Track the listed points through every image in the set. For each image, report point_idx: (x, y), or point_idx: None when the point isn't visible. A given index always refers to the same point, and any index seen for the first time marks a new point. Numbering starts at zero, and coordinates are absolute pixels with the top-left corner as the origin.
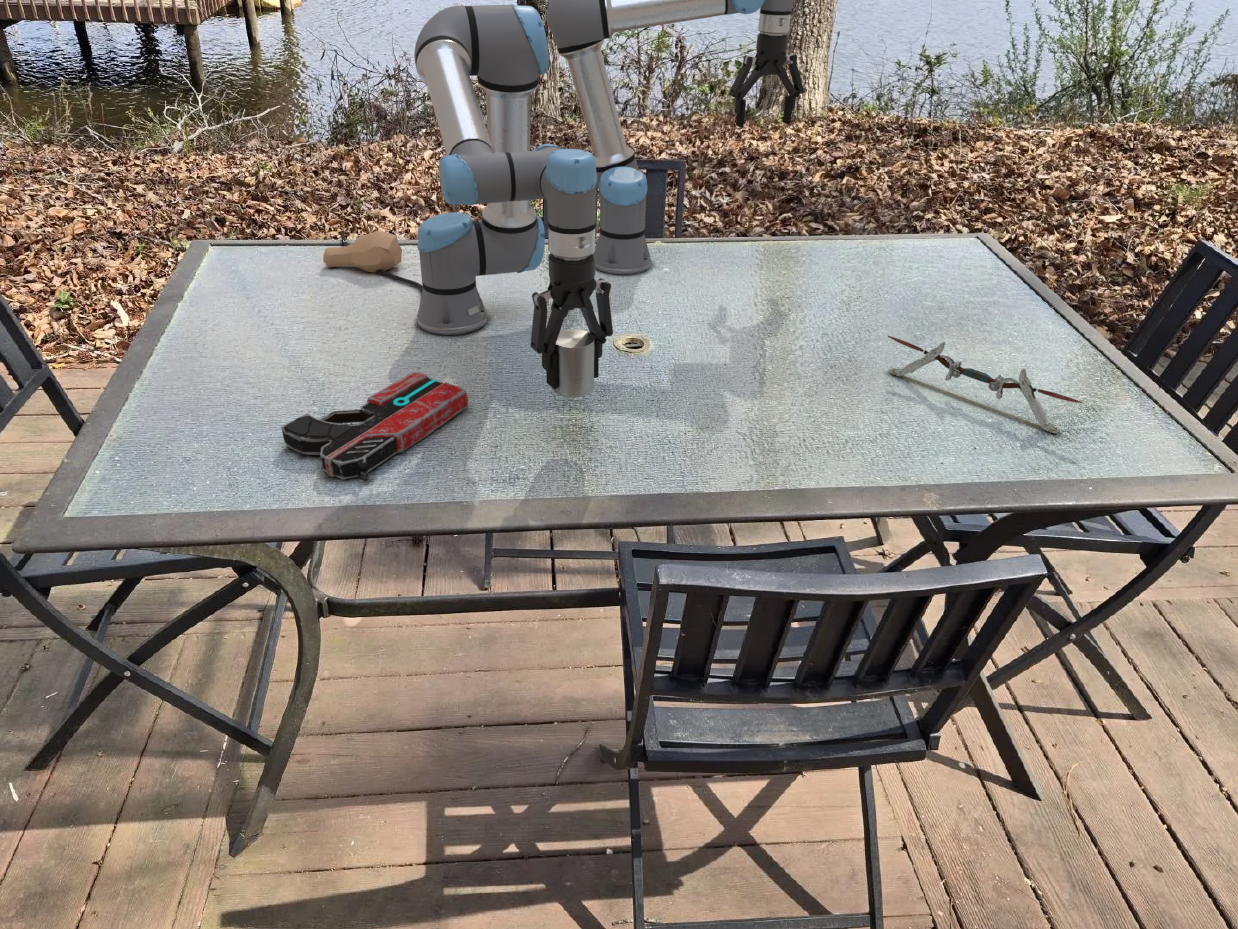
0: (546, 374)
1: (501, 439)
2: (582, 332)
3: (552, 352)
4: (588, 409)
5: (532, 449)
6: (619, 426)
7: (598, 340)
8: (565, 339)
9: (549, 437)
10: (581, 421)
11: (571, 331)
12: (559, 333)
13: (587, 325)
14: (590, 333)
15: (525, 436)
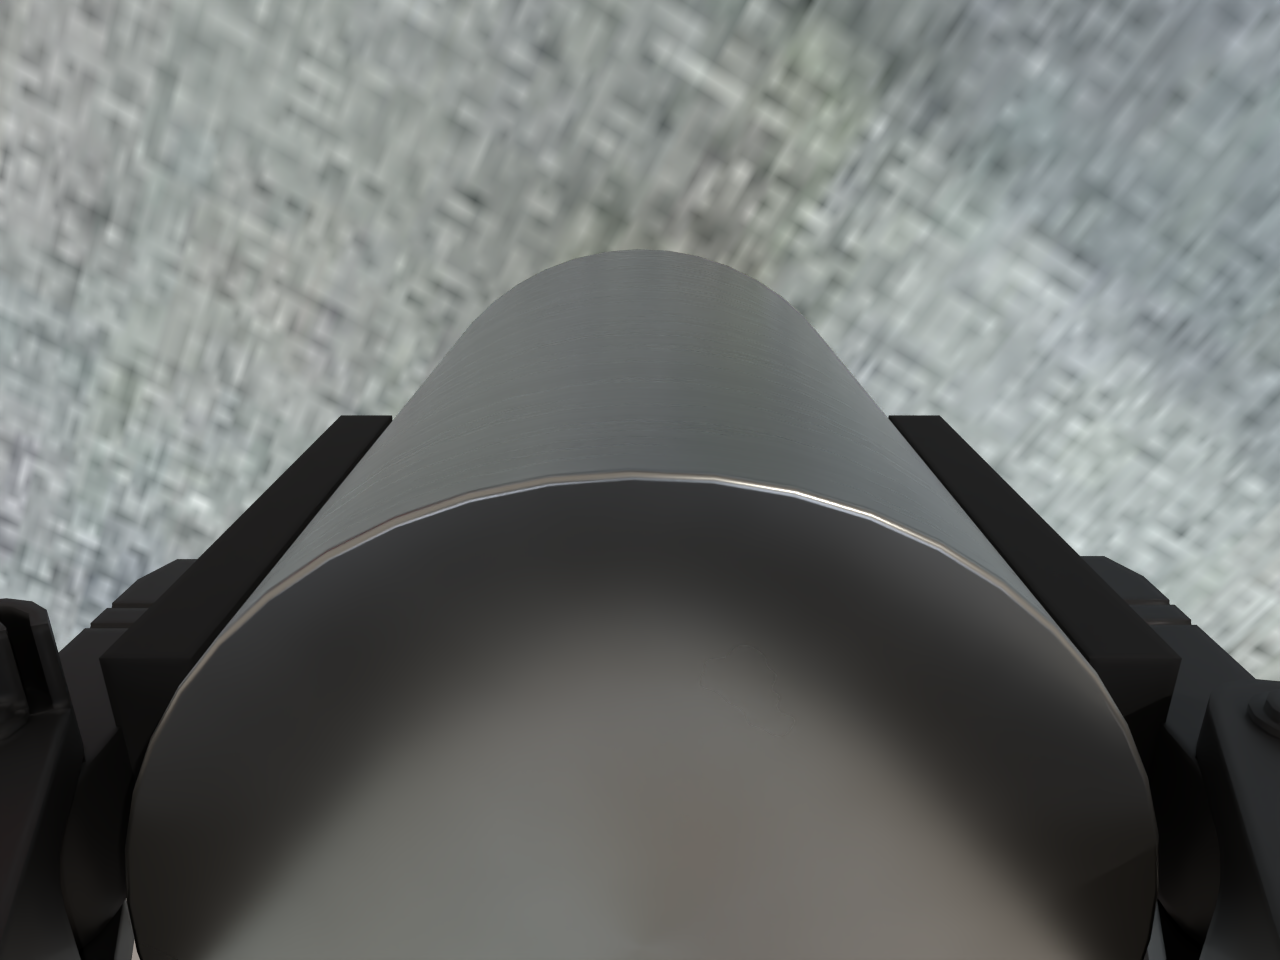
0: (304, 456)
1: (156, 144)
2: (1019, 823)
3: (129, 930)
4: (929, 77)
5: (319, 368)
6: (961, 403)
7: (1153, 938)
8: (458, 927)
9: (480, 293)
10: (782, 214)
11: (816, 667)
12: (469, 614)
13: (1271, 952)
14: (1140, 928)
15: (331, 196)
